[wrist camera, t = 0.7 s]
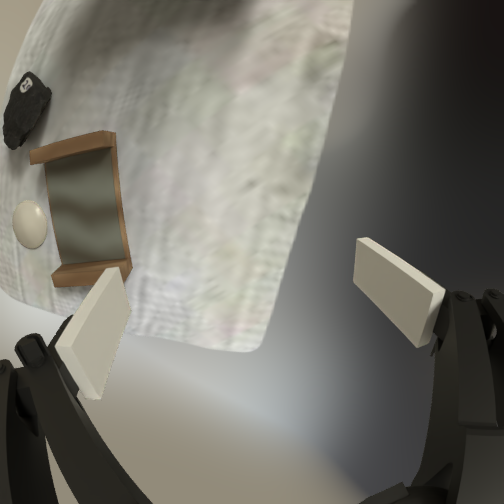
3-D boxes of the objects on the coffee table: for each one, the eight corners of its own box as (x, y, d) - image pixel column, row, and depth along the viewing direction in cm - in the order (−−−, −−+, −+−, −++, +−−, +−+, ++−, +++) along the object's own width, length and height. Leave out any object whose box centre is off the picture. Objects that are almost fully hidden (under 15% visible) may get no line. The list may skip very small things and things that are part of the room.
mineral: (5, 113, 26) (-15, 111, 21) (38, 71, 25) (20, 64, 20) (29, 151, 30) (8, 153, 24) (64, 108, 29) (45, 103, 24)
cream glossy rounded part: (11, 204, 32) (8, 205, 31) (43, 195, 33) (41, 196, 32) (20, 249, 35) (18, 250, 34) (52, 244, 36) (50, 246, 35)
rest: (47, 149, 30) (29, 150, 25) (115, 132, 32) (102, 130, 27) (68, 273, 37) (54, 287, 33) (132, 267, 39) (124, 282, 34)
